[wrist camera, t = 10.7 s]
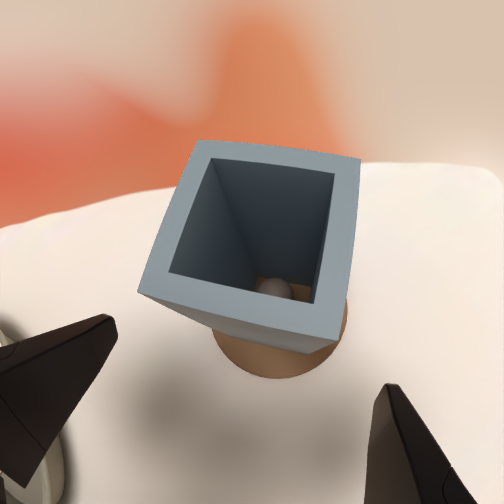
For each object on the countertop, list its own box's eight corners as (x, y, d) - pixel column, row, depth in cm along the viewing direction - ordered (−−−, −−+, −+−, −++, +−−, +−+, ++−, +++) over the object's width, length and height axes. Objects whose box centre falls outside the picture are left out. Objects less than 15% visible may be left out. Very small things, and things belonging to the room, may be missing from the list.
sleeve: (308, 354, 17) (338, 341, 6) (231, 336, 18) (136, 291, 7) (323, 278, 19) (360, 159, 8) (250, 264, 20) (197, 139, 9)
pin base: (294, 403, 17) (295, 419, 12) (187, 325, 19) (154, 311, 15) (368, 291, 19) (392, 266, 14) (263, 226, 21) (253, 185, 17)
